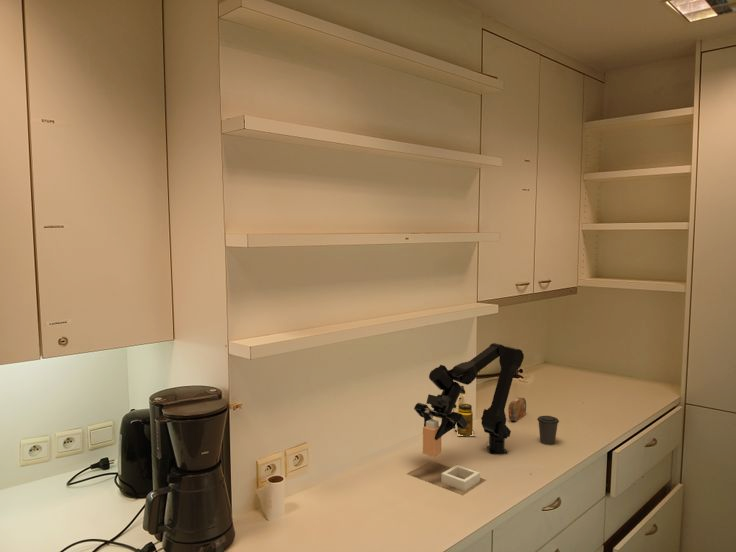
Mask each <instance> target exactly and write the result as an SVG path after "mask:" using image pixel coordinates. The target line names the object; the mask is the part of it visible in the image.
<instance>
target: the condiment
mask: <svg viewBox="0 0 736 552" xmlns="http://www.w3.org/2000/svg"><path fill="white" fill-rule="evenodd" d="M457 413H460V414H462V415H463V416H464V418H465V419H466V420H467V426H466V428H465V429H462V428H458V427H457V426H456V427H457V431H458V434H460V435H463V436H470V435H472V431H473V430H474V429H473V424H474V423H473V420H474V419H473V418H474V417H473V415H474V414H473V410H472V405H471V404H469V403H460V404H459V405H458V410H457ZM473 432H474V431H473Z"/></svg>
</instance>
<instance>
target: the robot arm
mask: <svg viewBox="0 0 736 552" xmlns="http://www.w3.org/2000/svg"><path fill="white" fill-rule="evenodd" d="M523 352H524V351H523V350H521V349H519V348H515V347H511V346H505V345H503V344H500V343H496V342H494V343H493V342H492V343H491V344H489V346H488V347H486V348H485V349H484V350H482V351H481V352H480V353H478V355H475V357H473V358H472V359H470V360H468V361H465V362H461V363H459V364H455V365H454V366H453V367H452V368H451V369H448V368H447V367H446V366H445V365H443V364H440V365H439V366H437V367H435V368H434V369H432V370H431V371H430V373H429V374H428V378H429V380H430V381H431V382H432V384H434V385H435V386H436V387H437V389H439V390H440V391H442V392H441V393H440V394H437V395H434V394H428V395H427V399H426V403H425V404H424V403H421V402H417V403H416V404H415V405H414V407H413V410H414V411H415V412H416V413H417V414H418V416H419V417H421V418H423V427H425V426H426V421H428V420H430V419H433V418H434V417H436V418H439V419H441V422H440V423H441V424H440V425H439V426H440V427H439V429H438V431H437V433H436V436H435V440H438V439H439V438H440V437H441V438H442V437H443V436H444V435H446V434H447V433H448V432H450V431H452V429H456V427H458V428H462V429H465V428H466V426H467V420H466V419H465V418H464V416H463V415H462V414H460V413H458V412H456V411H453V409H457V401H458V399H459V397H460V395H465V394H466V390H465V388H464V385H465V386H466V385H468V386H469V385H470V384H472V382H473V381H475V379H477V377H478V373H479V372H480V371H481V370H483V369H484V368H486V367H487V366H488V365H490V364H491V363H492V362H493V361H495V360H497V358H499V359H498V361H499V366H500V371H499V376H498V379H497V381H496V382H497V383H496V387H495V391H494V393H493V398H492V401H491V405H490V406H489V407H488V408H484V409H483V413H482V416H481V417H480V420H481V423H480V424H481V425H482V428H483V431H484V433H487V434H488V445H486V446H485V447H486V450H487V451H488V452H489V453H490V454H491V455H492V454H495V455H496V454H508V450H507V449H506V448H505V445H506V444H505V442H506V441H505V440H506V439H508V438H509V437H510V436H511V432H512V431H511V429H510V428H509V427H508V426H507V424H506V423H507V415H506V412H505V410H506V409H505V408H506V405H507V401H508V398H509V394H510V390H511V386H512V383H513V379H514V375H515V373H516V372H517V371H518V370H519V369H520V368H521V366H522V363H523V362H524V359H525V358H524V357H525V354H524V353H523ZM461 384H463V385H461ZM428 405H430V407H431V408H430V407H429V406H428ZM433 420H434V419H433Z"/></svg>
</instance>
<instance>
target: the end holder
mask: <svg viewBox="0 0 736 552" xmlns="http://www.w3.org/2000/svg"><path fill="white" fill-rule="evenodd" d="M457 476H460V477H462V478H465V479H461V478H458V477H457ZM480 478H481V472H480V471H475V470H473V469H470V468H467V467H464V466H461V465H458V464H456V465H453V467H451V468H450V469H449V470H447V471H445V472H443V473H442V475H441V483H444V484H447V485H449V486H452V487H455V488H457V489H460V490H463V491H466V490H468V489H469V488H471V487H472V486H474V485H476V484H477V483H479V482H480Z"/></svg>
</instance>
